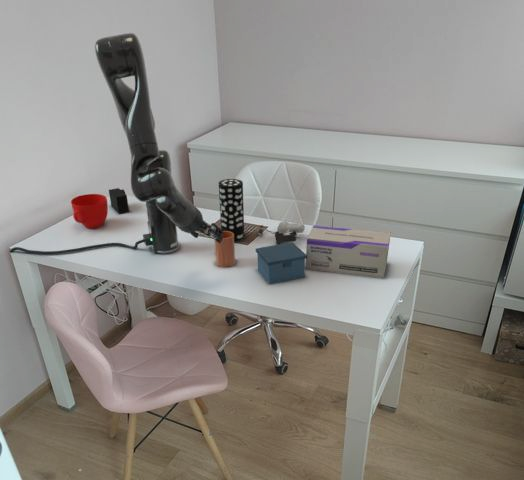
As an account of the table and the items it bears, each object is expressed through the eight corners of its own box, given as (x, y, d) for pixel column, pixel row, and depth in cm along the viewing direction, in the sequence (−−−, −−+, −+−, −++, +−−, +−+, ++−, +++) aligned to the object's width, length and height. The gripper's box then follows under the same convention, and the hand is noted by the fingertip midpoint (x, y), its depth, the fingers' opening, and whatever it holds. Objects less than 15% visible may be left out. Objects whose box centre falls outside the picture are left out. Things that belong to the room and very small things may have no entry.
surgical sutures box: (305, 268, 175) (306, 238, 169) (312, 255, 184) (313, 225, 177) (383, 278, 169) (387, 246, 163) (386, 263, 178) (390, 233, 172)
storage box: (268, 284, 167) (268, 262, 162) (255, 269, 175) (255, 248, 171) (306, 277, 170) (307, 255, 166) (292, 263, 179) (292, 242, 174)
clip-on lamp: (251, 247, 196) (295, 246, 187) (247, 231, 193) (291, 229, 184) (266, 232, 204) (309, 231, 195) (262, 217, 201) (305, 214, 191)
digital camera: (132, 211, 219) (129, 194, 215) (119, 214, 216) (116, 197, 212) (124, 203, 226) (121, 187, 222) (111, 206, 224) (108, 189, 220)
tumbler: (219, 268, 176) (217, 239, 170) (213, 260, 181) (211, 232, 175) (237, 265, 178) (236, 236, 172) (231, 257, 183) (230, 229, 177)
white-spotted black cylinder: (243, 242, 193) (242, 186, 181) (220, 242, 193) (217, 186, 182) (244, 232, 200) (243, 178, 188) (222, 232, 200) (219, 178, 188)
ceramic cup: (63, 233, 201) (57, 207, 195) (88, 217, 214) (83, 192, 208) (94, 237, 198) (88, 211, 192) (117, 220, 211) (113, 195, 205)
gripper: (158, 221, 154) (185, 244, 169) (200, 230, 148) (224, 253, 163) (168, 197, 155) (194, 222, 169) (209, 206, 149) (232, 230, 164)
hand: (209, 237), depth 166 cm, fingers open, 8 cm apart
